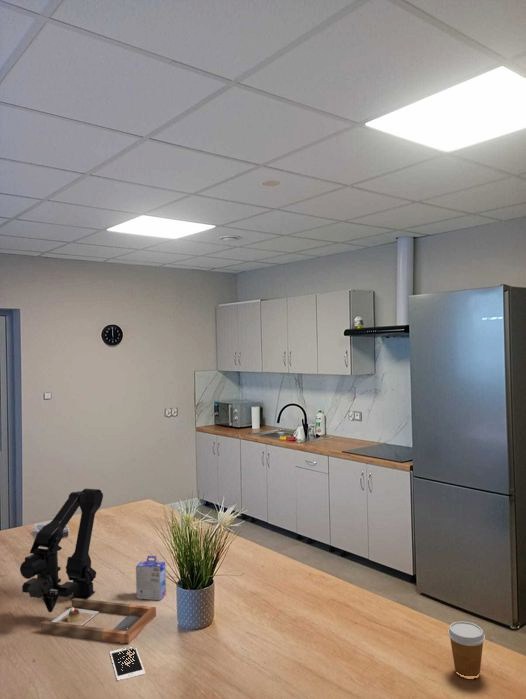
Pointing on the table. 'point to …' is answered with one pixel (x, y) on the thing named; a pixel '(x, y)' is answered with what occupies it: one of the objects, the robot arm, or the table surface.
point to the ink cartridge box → (151, 579)
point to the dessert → (75, 615)
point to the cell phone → (127, 671)
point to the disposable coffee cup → (466, 647)
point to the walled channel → (120, 633)
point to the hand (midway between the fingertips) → (50, 611)
